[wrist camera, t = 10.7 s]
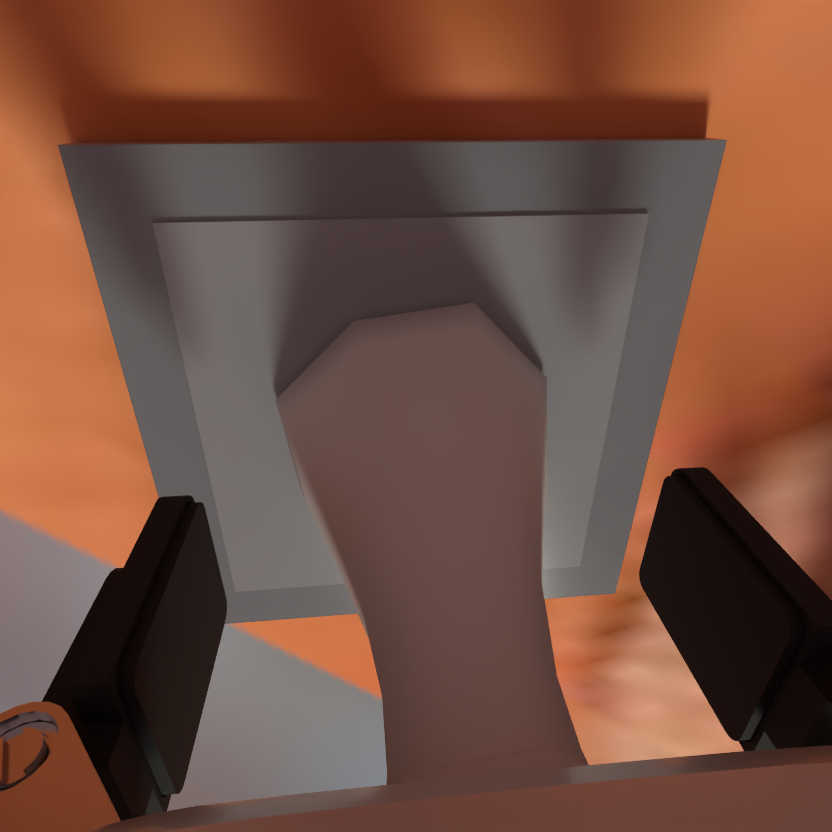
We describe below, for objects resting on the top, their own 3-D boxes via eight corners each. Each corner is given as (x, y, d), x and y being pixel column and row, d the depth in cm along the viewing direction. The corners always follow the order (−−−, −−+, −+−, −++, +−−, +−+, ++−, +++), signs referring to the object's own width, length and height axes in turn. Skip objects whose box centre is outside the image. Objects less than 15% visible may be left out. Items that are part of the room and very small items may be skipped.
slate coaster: (706, 137, 13) (729, 140, 12) (605, 576, 20) (616, 595, 19) (74, 141, 12) (55, 145, 11) (201, 606, 19) (194, 628, 18)
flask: (583, 472, 16) (840, 892, 8) (363, 566, 17) (374, 1032, 9) (493, 247, 13) (779, 555, 4) (224, 381, 14) (13, 853, 5)
